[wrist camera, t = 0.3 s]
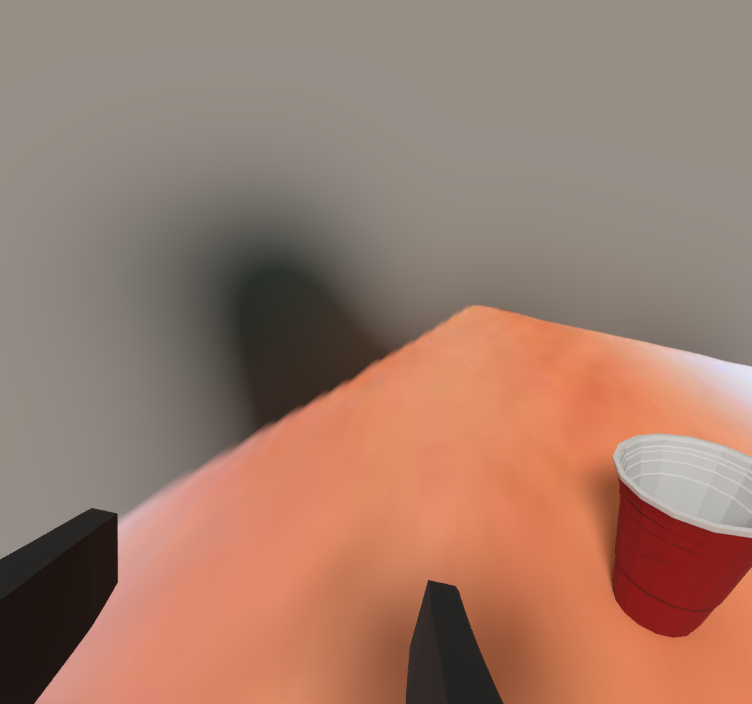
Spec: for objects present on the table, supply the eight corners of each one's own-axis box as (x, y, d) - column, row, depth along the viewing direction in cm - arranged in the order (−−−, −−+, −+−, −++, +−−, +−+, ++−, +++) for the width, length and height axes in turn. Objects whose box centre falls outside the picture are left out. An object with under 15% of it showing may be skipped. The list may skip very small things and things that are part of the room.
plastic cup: (578, 531, 45) (616, 412, 40) (719, 578, 41) (779, 453, 36) (568, 629, 35) (616, 490, 31) (749, 702, 32) (835, 556, 27)
